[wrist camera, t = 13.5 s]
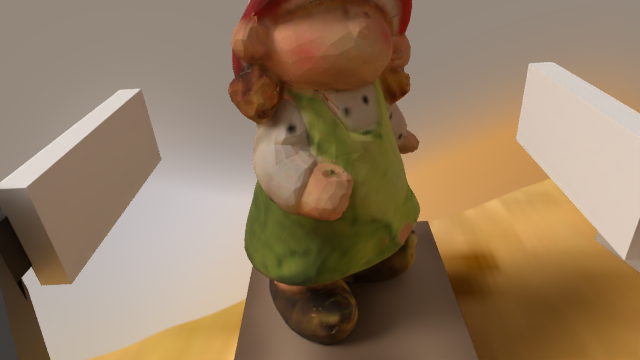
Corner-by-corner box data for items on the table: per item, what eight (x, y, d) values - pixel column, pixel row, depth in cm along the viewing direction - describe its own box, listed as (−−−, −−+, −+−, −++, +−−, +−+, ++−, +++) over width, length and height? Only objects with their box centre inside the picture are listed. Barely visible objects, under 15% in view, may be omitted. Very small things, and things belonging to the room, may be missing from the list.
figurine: (376, 384, 20) (368, -151, 10) (225, 328, 24) (110, -110, 14) (431, 245, 29) (457, -125, 19) (314, 219, 32) (282, -104, 22)
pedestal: (423, 283, 34) (427, 221, 31) (469, 441, 23) (482, 369, 20) (270, 292, 34) (259, 231, 31) (249, 450, 24) (229, 381, 21)
